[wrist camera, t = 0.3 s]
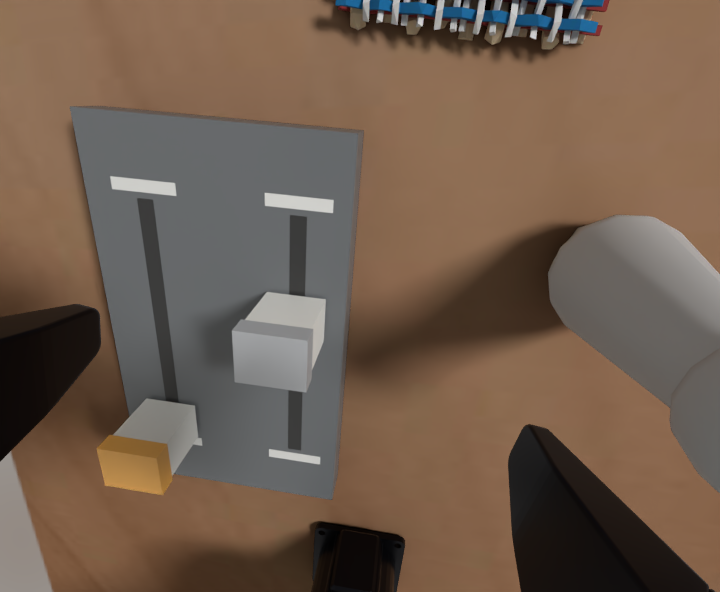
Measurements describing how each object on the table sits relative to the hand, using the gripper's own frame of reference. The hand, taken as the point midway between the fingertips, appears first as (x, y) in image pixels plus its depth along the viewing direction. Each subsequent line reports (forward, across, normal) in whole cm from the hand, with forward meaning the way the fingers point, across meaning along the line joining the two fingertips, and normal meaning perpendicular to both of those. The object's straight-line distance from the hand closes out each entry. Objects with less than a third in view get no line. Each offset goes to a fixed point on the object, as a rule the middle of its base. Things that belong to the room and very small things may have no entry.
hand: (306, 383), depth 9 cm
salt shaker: (+14, -11, -1) cm, 18 cm away
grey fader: (+12, +3, +5) cm, 13 cm away
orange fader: (+12, +9, +14) cm, 21 cm away
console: (+14, +6, +8) cm, 17 cm away
